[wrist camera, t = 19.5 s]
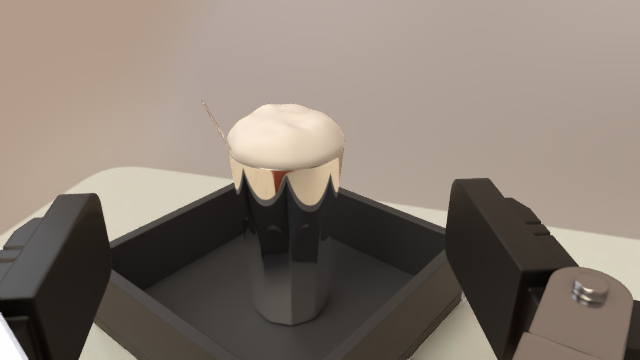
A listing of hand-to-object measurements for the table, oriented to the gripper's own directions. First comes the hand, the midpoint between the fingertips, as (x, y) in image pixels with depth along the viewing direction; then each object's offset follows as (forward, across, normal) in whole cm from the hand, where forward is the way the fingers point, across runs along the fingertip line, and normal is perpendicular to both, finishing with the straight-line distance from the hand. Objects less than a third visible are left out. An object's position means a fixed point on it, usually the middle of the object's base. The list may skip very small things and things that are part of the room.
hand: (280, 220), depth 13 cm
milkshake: (+9, 0, +10) cm, 13 cm away
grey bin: (+9, 0, +10) cm, 14 cm away
